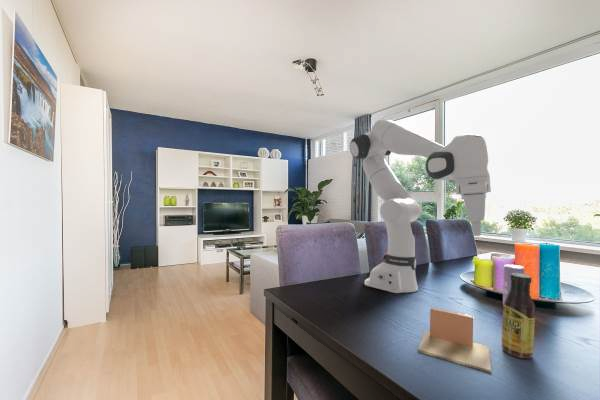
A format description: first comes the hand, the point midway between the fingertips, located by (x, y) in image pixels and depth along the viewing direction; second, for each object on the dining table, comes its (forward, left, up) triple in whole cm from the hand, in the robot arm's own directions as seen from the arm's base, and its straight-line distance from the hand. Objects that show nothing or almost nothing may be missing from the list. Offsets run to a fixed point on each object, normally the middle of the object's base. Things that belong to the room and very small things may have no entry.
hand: (476, 233), depth 82 cm
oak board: (-4, -18, -28) cm, 34 cm away
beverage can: (+12, +27, -29) cm, 41 cm away
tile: (-5, -14, -28) cm, 32 cm away
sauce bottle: (+9, -11, -29) cm, 32 cm away
